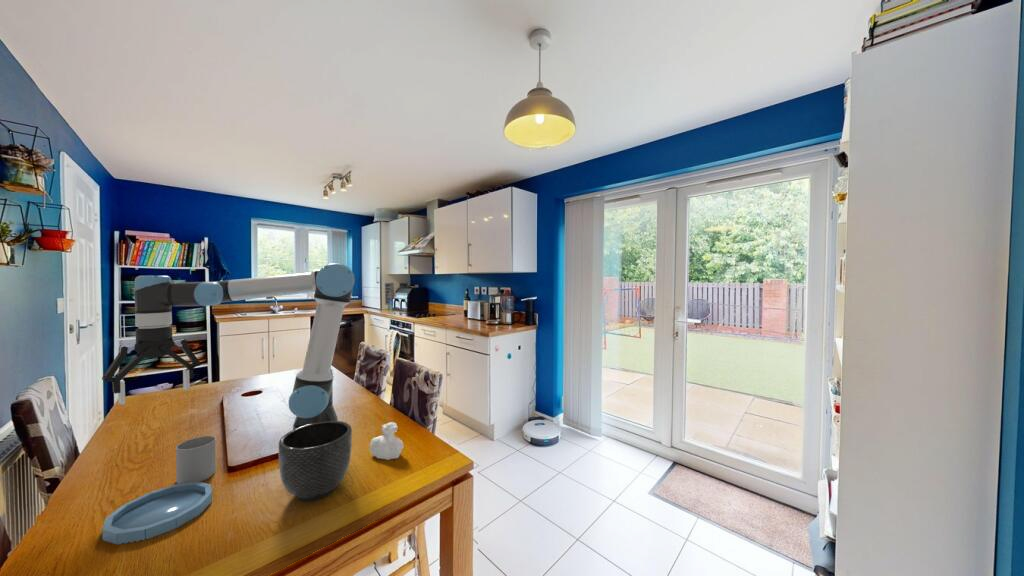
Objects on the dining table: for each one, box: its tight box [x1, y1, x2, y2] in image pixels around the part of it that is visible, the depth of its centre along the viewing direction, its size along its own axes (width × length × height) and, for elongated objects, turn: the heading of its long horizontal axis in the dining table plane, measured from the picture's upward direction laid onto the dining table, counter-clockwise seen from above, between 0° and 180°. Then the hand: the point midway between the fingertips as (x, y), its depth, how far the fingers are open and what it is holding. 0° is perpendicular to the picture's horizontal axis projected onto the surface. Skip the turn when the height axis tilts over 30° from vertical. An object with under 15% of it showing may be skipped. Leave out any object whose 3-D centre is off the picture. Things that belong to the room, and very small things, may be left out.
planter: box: [278, 420, 353, 503], centre depth 90 cm, size 17×17×16 cm
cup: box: [175, 435, 217, 484], centre depth 97 cm, size 8×8×10 cm
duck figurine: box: [369, 421, 404, 461], centre depth 110 cm, size 12×8×11 cm
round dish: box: [101, 481, 213, 545], centre depth 81 cm, size 18×18×2 cm
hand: (156, 396), depth 100 cm, fingers open, 13 cm apart
